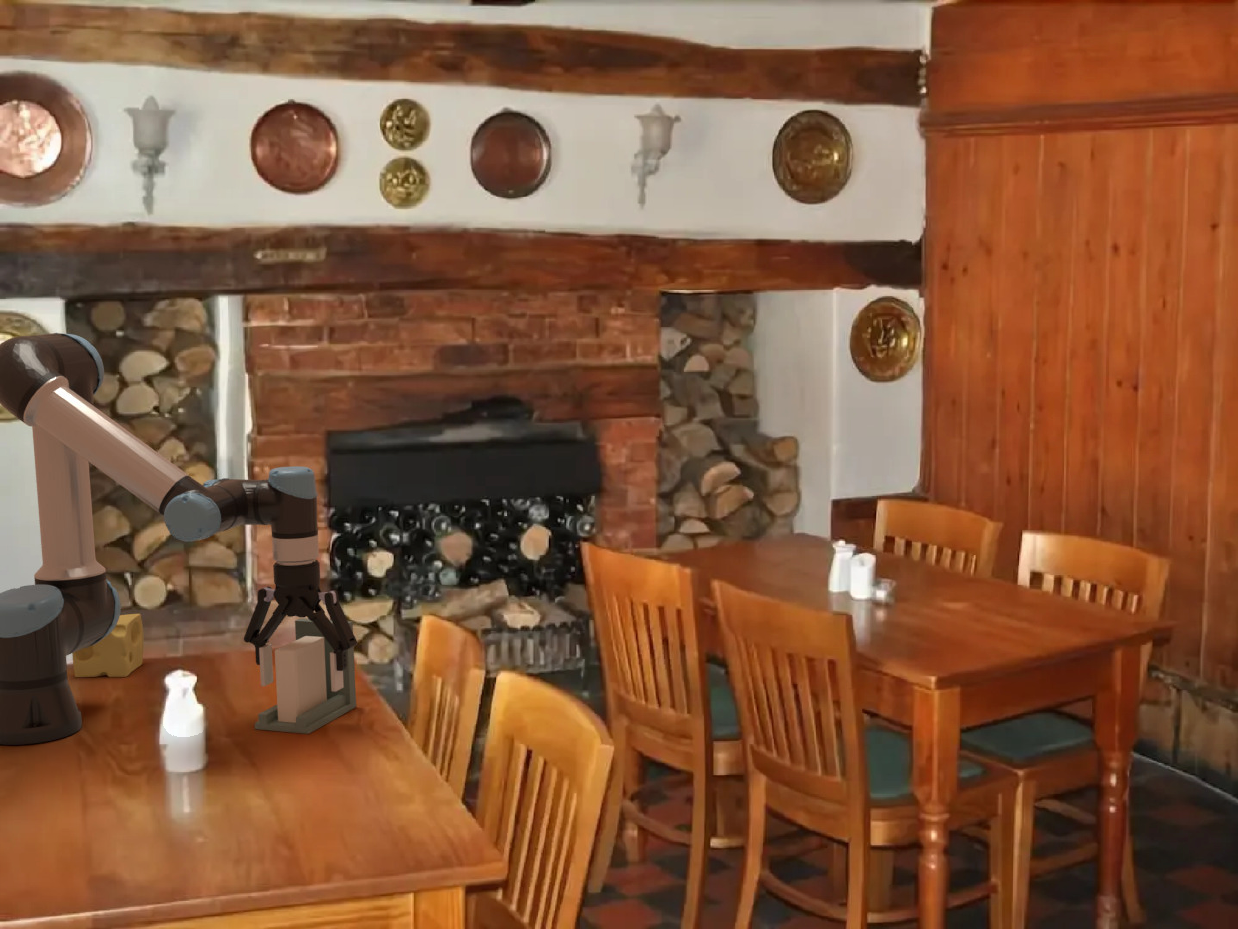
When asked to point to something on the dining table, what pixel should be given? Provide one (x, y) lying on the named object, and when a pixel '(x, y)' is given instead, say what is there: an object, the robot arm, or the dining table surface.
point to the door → (300, 677)
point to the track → (336, 700)
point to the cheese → (113, 651)
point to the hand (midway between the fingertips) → (302, 686)
